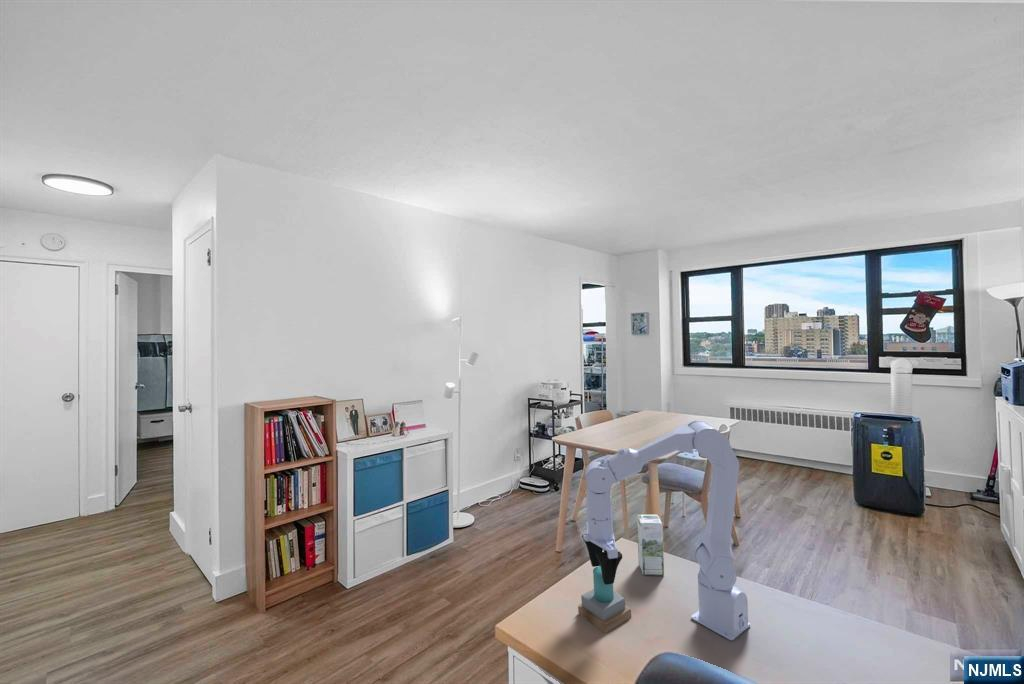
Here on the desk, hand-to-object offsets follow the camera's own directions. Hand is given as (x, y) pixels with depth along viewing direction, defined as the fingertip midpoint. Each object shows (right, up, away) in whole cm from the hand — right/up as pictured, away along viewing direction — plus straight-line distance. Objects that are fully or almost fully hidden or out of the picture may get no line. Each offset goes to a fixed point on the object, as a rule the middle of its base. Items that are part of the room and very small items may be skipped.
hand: (602, 574), depth 100 cm
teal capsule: (0, -5, 0) cm, 5 cm away
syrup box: (+17, -9, +18) cm, 26 cm away
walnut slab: (+1, -10, 0) cm, 10 cm away
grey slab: (0, -8, 0) cm, 8 cm away
